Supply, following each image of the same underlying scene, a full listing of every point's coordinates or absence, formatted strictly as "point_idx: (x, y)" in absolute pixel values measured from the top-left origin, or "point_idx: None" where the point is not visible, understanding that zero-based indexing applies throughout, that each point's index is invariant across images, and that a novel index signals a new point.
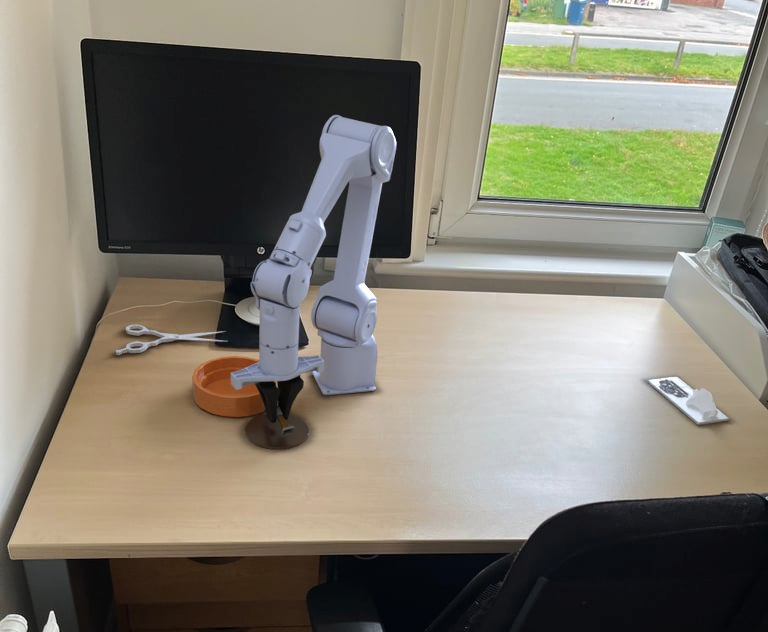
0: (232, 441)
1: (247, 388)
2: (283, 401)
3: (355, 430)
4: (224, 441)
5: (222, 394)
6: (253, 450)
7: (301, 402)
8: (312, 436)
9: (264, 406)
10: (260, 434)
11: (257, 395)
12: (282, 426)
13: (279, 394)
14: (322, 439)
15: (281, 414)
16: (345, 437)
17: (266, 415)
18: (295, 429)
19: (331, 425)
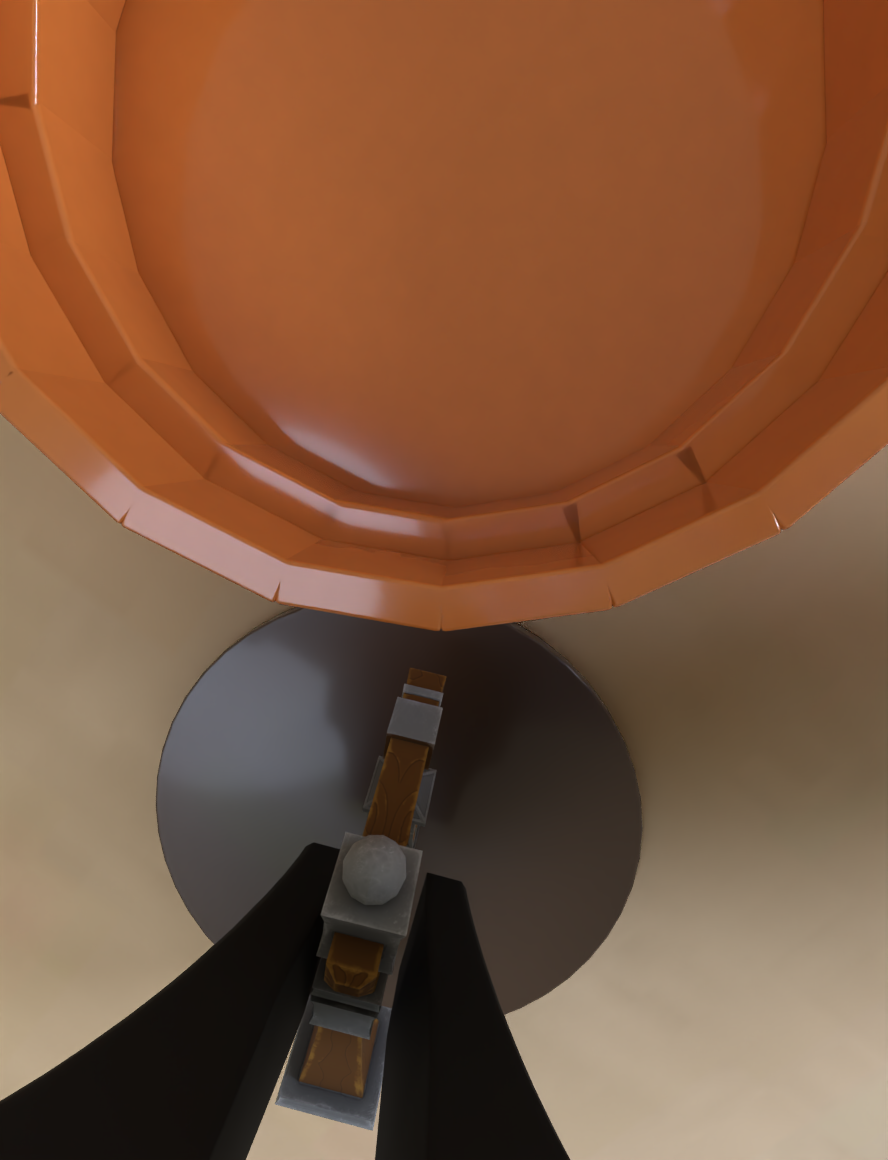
0: (63, 715)
1: (640, 114)
2: (391, 1138)
3: (844, 1124)
4: (15, 681)
5: (352, 55)
6: (130, 877)
7: (863, 630)
8: (557, 1000)
9: (257, 905)
10: (251, 806)
11: (382, 621)
12: (311, 1047)
13: (418, 1082)
14: (584, 1060)
15: (358, 1031)
16: (722, 1132)
17: (299, 856)
18: (505, 910)
19: (768, 993)
